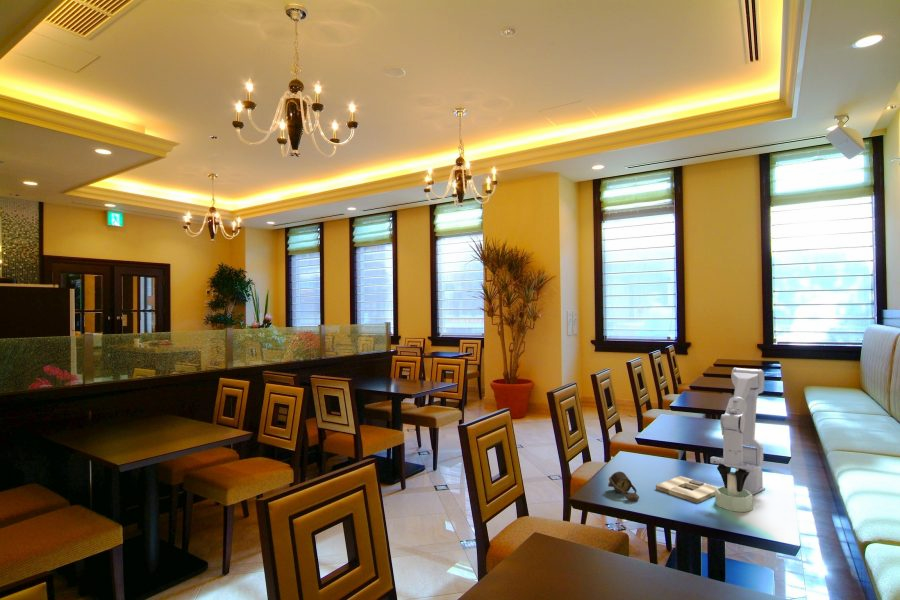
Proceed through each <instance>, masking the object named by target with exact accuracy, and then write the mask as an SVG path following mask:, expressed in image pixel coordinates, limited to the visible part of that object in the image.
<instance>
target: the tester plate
mask: <svg viewBox="0 0 900 600" xmlns="http://www.w3.org/2000/svg"><path fill="white" fill-rule="evenodd" d="M718 487H719V486H716V485H712V484H708V483H706V482H703V481H699V480H697V479H693V478H688V477H686V476H682V475H679V476H676V477H673V478H671V479H669V480H666V481H662V482H660V483H658V484H656V485H655V490H658V491H660V492H662V493H666V494H669V495H671V496H675V497H678V498H682V499H685V500H687V501H691V502H694V503H696V504H699V503H702V502H704V501H706V500H708V499H711V498H713V497H715V489H716V488H718ZM687 488H688V489H687ZM691 489H692V490H691Z"/></svg>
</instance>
